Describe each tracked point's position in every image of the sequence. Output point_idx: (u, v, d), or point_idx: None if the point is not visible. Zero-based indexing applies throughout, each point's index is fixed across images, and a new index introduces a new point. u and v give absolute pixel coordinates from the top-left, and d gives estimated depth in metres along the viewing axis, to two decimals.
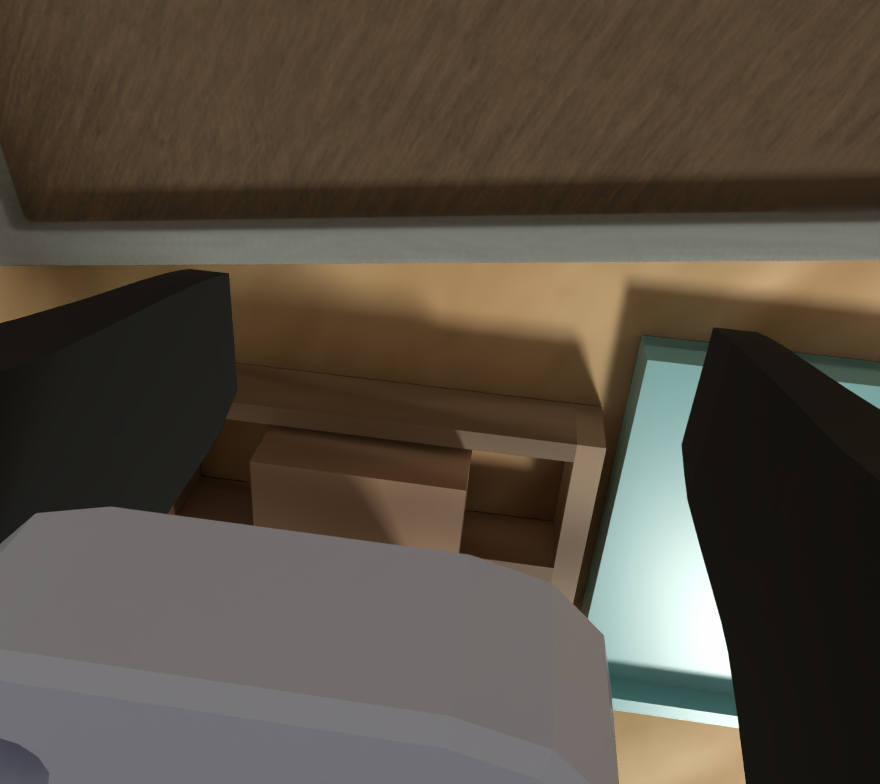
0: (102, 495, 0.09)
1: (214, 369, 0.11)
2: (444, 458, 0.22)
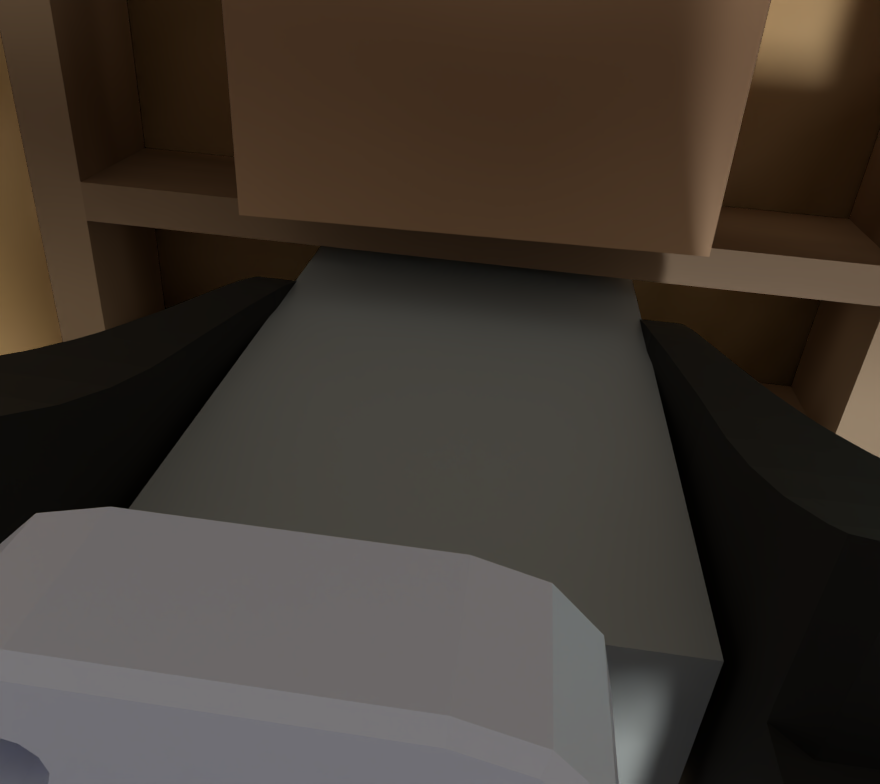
0: None
1: None
2: None
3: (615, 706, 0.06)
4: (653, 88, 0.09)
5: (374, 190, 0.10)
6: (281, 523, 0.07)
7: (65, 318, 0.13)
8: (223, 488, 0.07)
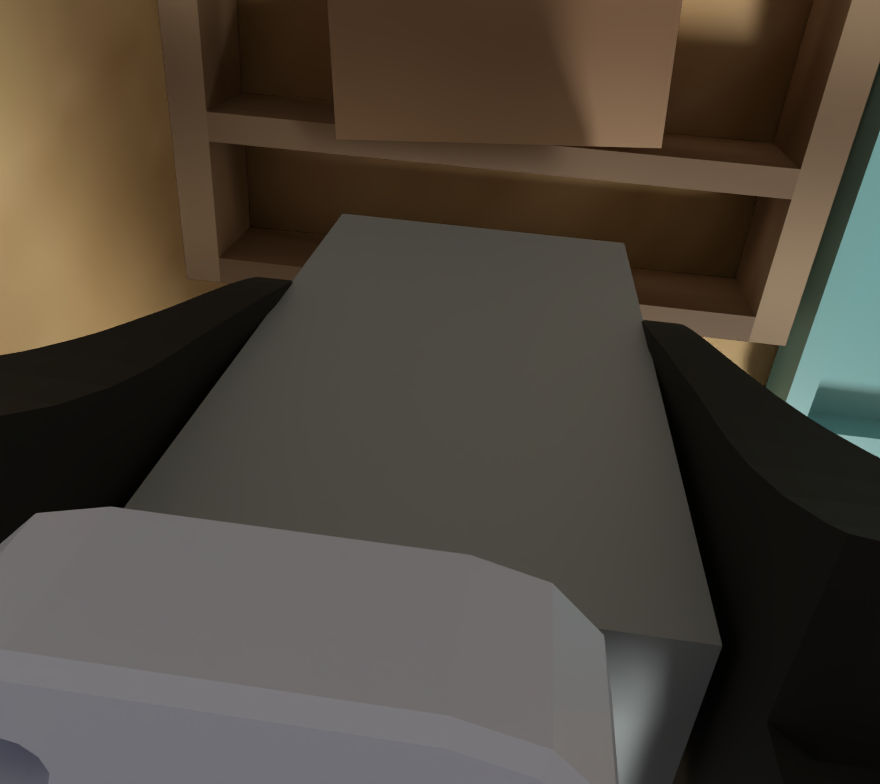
0: None
1: None
2: None
3: (614, 691, 0.06)
4: (614, 31, 0.13)
5: (429, 115, 0.14)
6: (283, 511, 0.07)
7: (186, 218, 0.17)
8: (226, 477, 0.07)
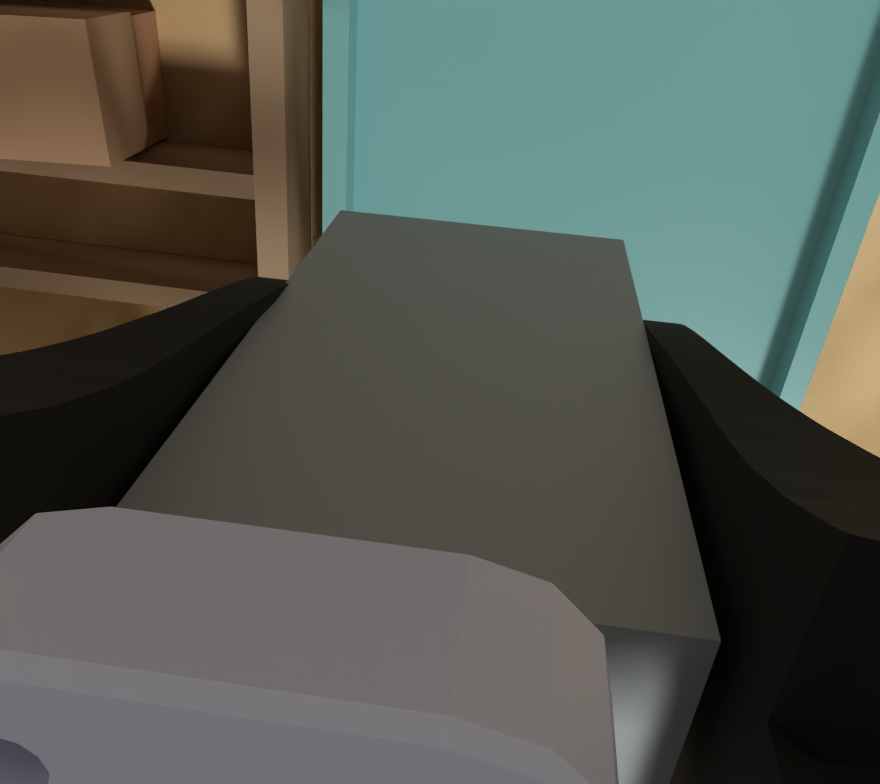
0: None
1: None
2: (83, 12, 0.17)
3: (613, 687, 0.06)
4: (48, 73, 0.17)
5: None
6: (280, 506, 0.07)
7: None
8: (221, 473, 0.07)
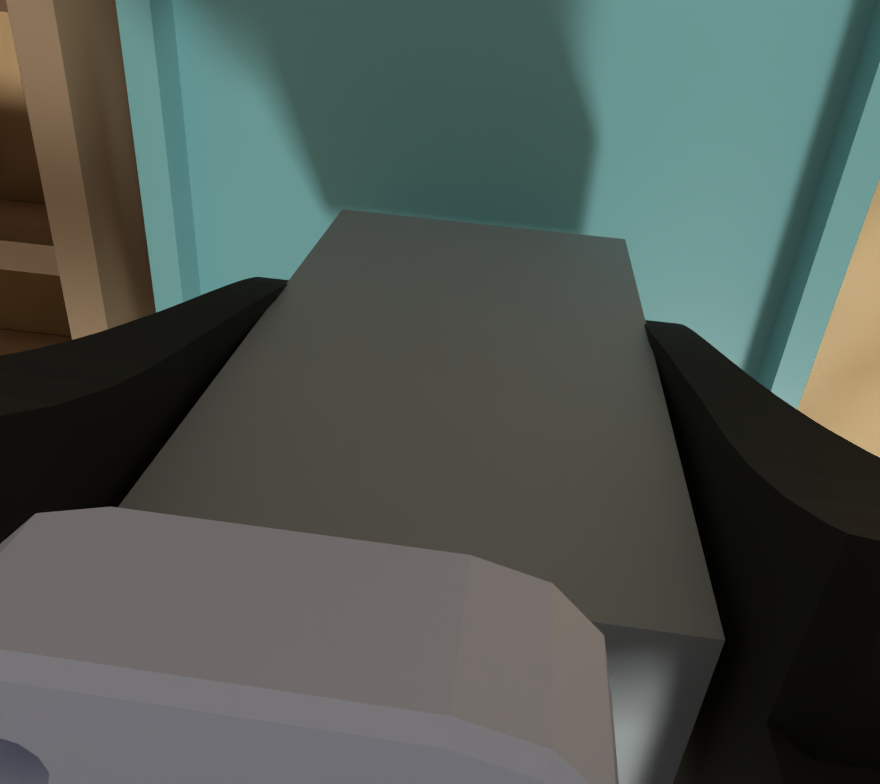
0: None
1: None
2: None
3: (616, 686, 0.06)
4: None
5: None
6: (282, 505, 0.07)
7: None
8: (224, 471, 0.07)
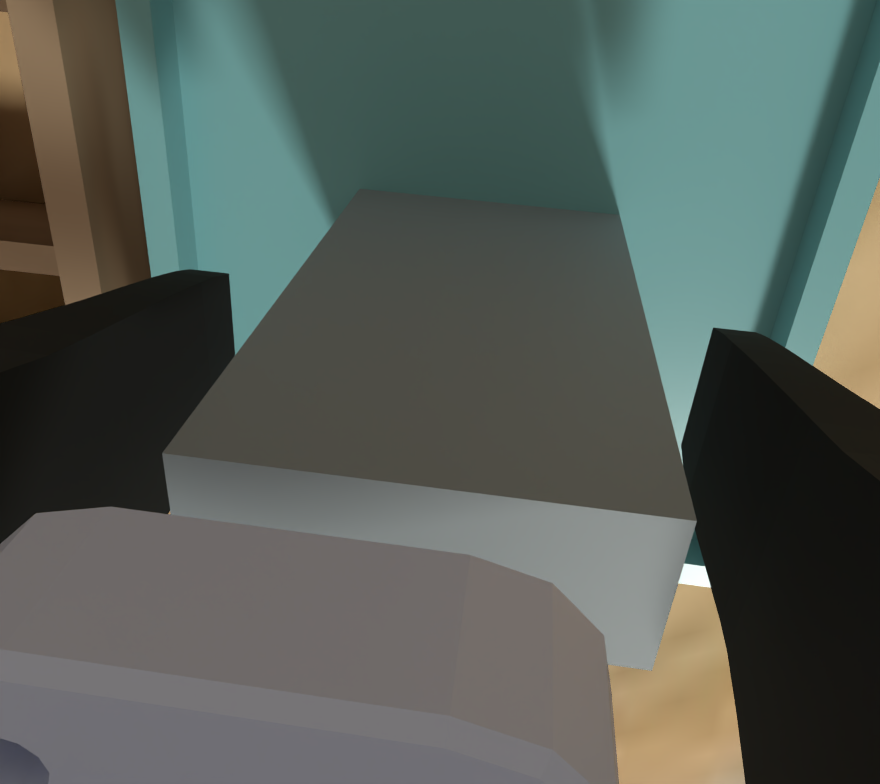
0: (102, 495, 0.09)
1: (214, 369, 0.11)
2: None
3: (607, 565, 0.07)
4: None
5: None
6: (324, 421, 0.08)
7: None
8: (272, 397, 0.08)
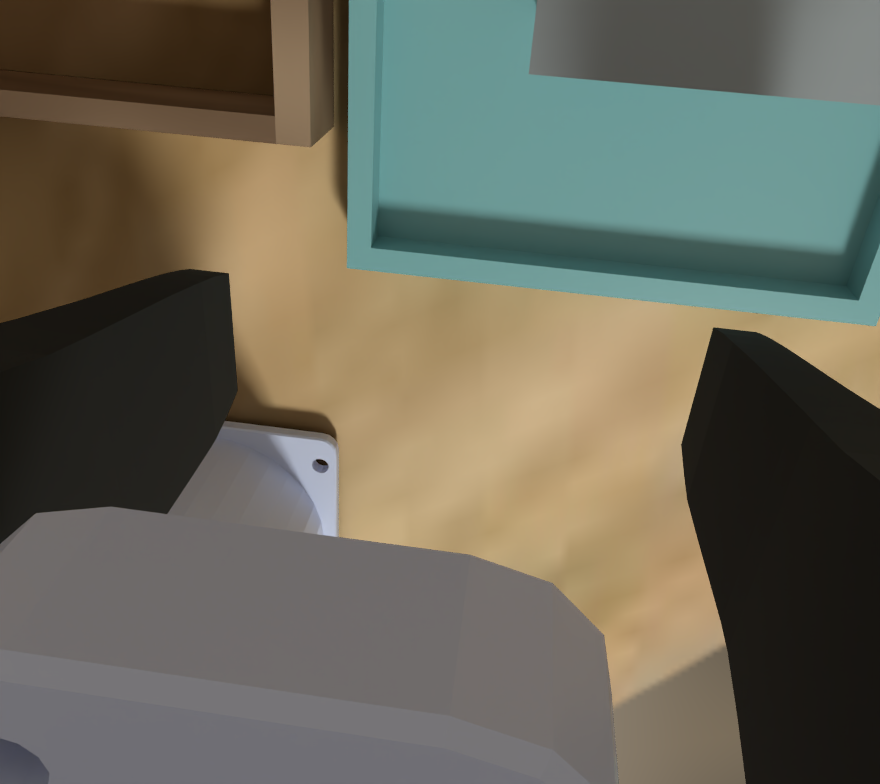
0: (102, 495, 0.09)
1: (214, 369, 0.11)
2: None
3: None
4: None
5: None
6: None
7: None
8: None
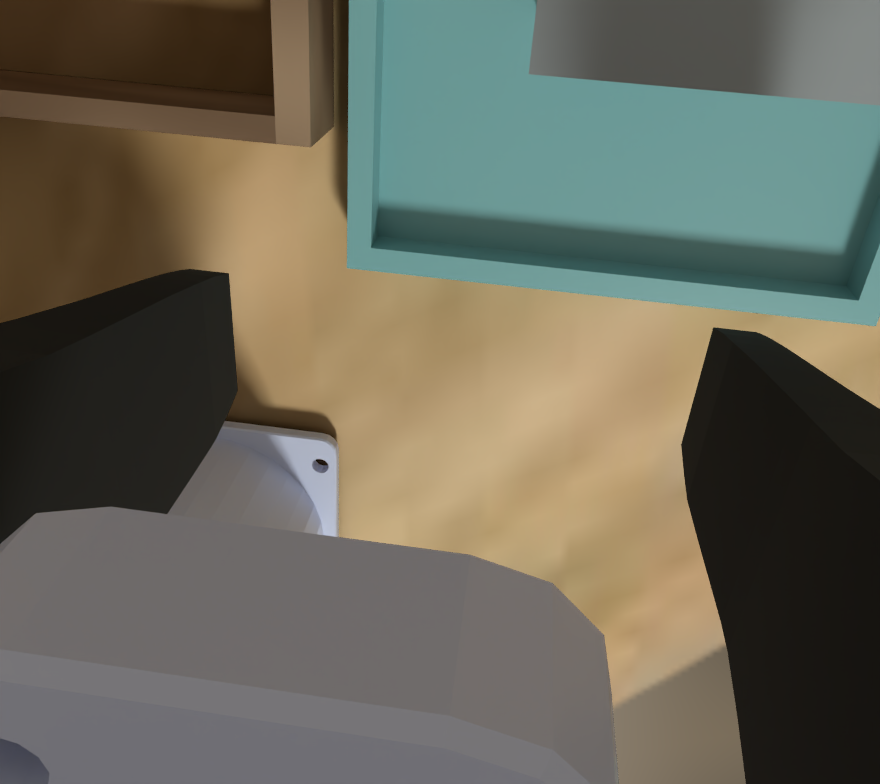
0: (102, 495, 0.09)
1: (214, 369, 0.11)
2: None
3: None
4: None
5: None
6: None
7: None
8: None
